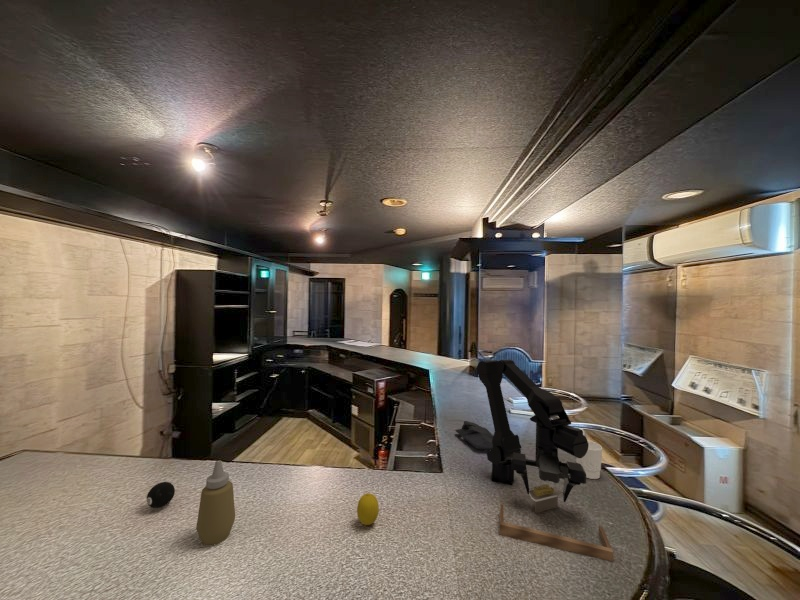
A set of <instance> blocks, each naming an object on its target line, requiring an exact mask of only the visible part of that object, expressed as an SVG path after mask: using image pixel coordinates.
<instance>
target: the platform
mask: <svg viewBox="0 0 800 600" xmlns="http://www.w3.org/2000/svg"><path fill="white" fill-rule="evenodd" d="M528 495H529V496H530V498H531V500H533V501H534V511H535V514H536V513H540V512H544V511H548V510H552V509H557V508H559V505H558V503H559V502H558V501H559V497H563V491H562V490H560V489H557V488H555V487H554V486H552V487H550V484H549V483H546V484H541V485H538V486H533V489H532V490H530V489H529V494H528Z"/></svg>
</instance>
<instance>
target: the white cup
mask: <svg viewBox="0 0 800 600" xmlns="http://www.w3.org/2000/svg"><path fill="white" fill-rule="evenodd" d="M587 442H588V451H587V453H586V454H585V456H584V457H582V458H577V457H575V460H576V462H575V463H579V464H581V465H582V466H583V468H584V470H585V473H586V479H592V480H597V479H600V477H601V468H602V458H603V447H602V445H601V444H599V443H598V442H594V441H592V440H588V439H587Z"/></svg>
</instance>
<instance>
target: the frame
mask: <svg viewBox="0 0 800 600" xmlns="http://www.w3.org/2000/svg"><path fill="white" fill-rule="evenodd" d="M498 533H499V535H501V536H504V537H508V538H512V539H518V540H522V541H525V542H530V543H534V544H538V545H543V546H547V547H551V548H554V549H559V550H564V551H569V552H572V553H574V554H575V553H576V554H579V555H583V556H588V557H592V558H596V559H600V560H605V561H610V562H614V551H613V548H612V546H611V544H610V543H611V542H609V539H608V536H607V534H606V532H605V530H604V527H603V526H600V525H598V538H599V540H600V542H601V545H599V544H594V543H593V542H592V543H591V542H587V541H584V540H578V539H574V538H570V537H567V536H563V535H558V534H554V533H551V532H545V531H541V530H538V529H534V528H529V527H526V526H521V525H519V524H518V525H517V524H513V523H509V522H506V521H504V504H503V503H500V507H499V530H498Z"/></svg>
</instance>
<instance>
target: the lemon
mask: <svg viewBox="0 0 800 600" xmlns="http://www.w3.org/2000/svg"><path fill="white" fill-rule="evenodd" d="M379 506H380V505H379V500H378V499H377V497H376V496H375V495H374V494H373V493H370V492H367V493H364V494H363V495H362V496H361V497H360V498H359V499H358V503H357V507H356V513H357V518H358V521H359V522H360V523H361V524H362V525H365V526H369V525H372V524H373V523H375V522H376V520H377V518H378V515H379V510H380V509H379V508H380V507H379Z"/></svg>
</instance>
